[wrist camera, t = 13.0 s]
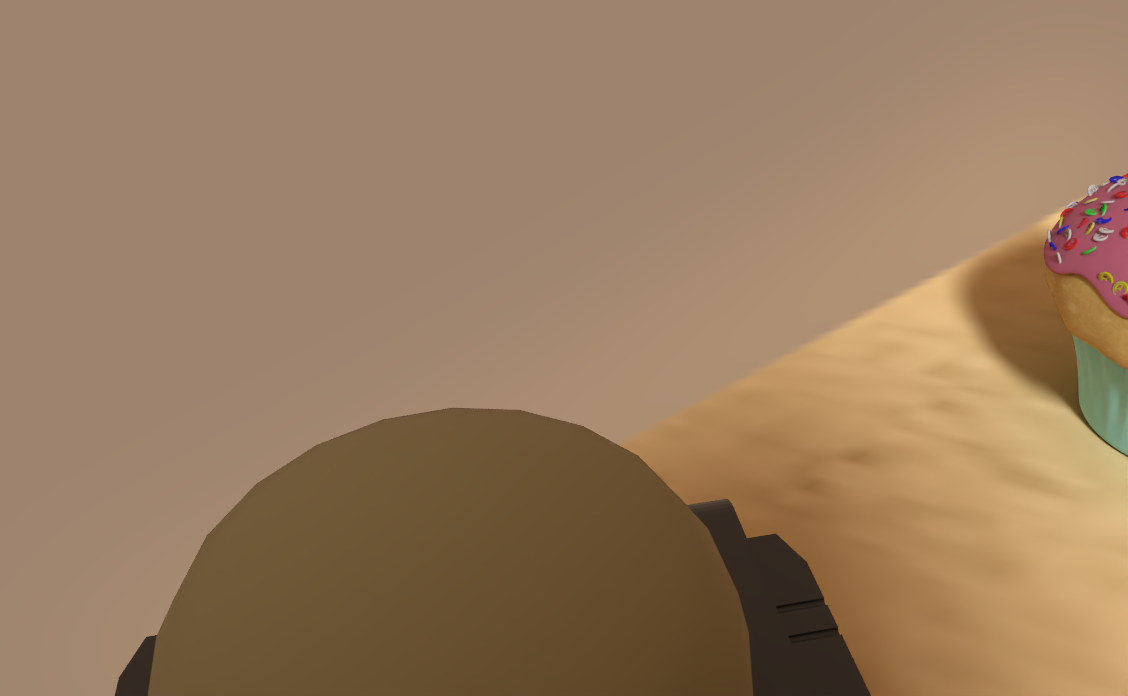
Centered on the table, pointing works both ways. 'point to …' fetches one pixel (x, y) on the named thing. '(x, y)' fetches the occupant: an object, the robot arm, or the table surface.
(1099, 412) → the cupcake
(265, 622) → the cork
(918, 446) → the table surface
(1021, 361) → the table surface
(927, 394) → the table surface
